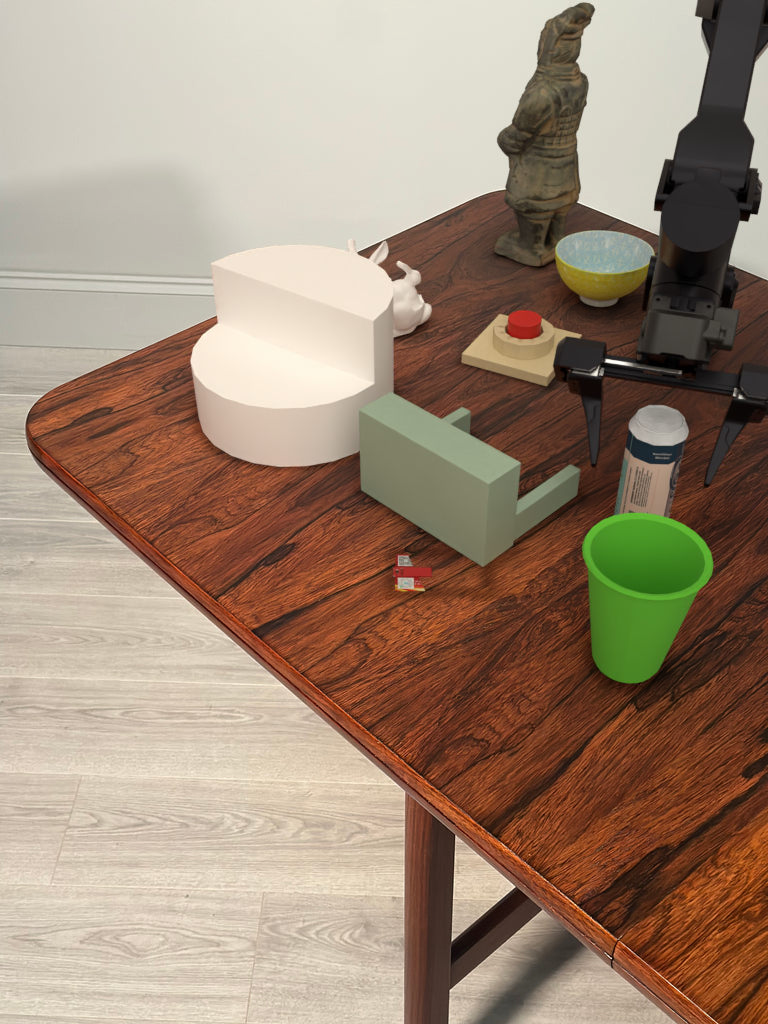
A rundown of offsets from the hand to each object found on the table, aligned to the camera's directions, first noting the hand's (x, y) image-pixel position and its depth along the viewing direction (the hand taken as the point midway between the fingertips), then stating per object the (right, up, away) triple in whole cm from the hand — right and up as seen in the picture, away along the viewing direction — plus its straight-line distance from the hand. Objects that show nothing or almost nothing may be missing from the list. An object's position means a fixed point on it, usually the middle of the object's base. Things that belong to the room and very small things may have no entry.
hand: (648, 476), depth 86 cm
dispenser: (-14, -1, +10) cm, 17 cm away
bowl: (+4, +23, +39) cm, 45 cm away
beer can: (+1, -5, +6) cm, 8 cm away
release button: (-7, +17, +27) cm, 33 cm away
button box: (-7, +15, +29) cm, 33 cm away
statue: (-3, +31, +49) cm, 58 cm away
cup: (-3, -14, -6) cm, 16 cm away
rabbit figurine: (-22, +19, +34) cm, 45 cm away
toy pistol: (-17, -8, +2) cm, 19 cm away
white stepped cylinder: (-31, +8, +21) cm, 38 cm away
